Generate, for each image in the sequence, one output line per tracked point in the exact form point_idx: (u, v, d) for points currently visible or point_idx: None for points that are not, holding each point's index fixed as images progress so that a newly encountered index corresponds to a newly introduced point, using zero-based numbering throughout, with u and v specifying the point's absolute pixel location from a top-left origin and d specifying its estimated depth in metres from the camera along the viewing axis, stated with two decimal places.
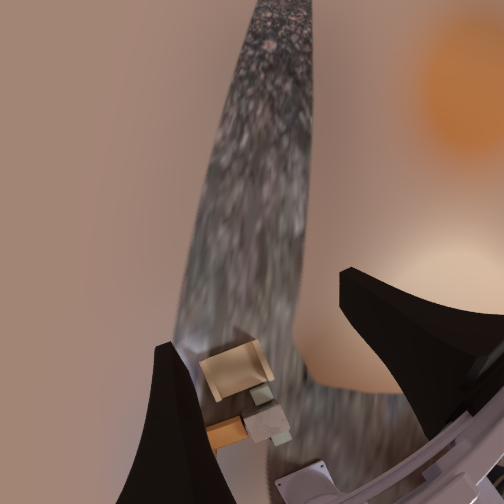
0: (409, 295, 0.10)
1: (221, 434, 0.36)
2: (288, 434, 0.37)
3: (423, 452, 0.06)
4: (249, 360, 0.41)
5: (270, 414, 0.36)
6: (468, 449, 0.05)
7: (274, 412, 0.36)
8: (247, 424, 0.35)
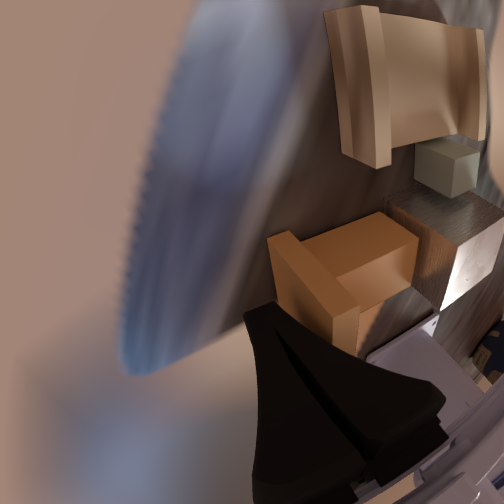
0: (322, 342, 0.09)
1: (363, 283, 0.12)
2: None
3: None
4: (445, 67, 0.11)
5: (492, 235, 0.12)
6: (468, 449, 0.05)
7: (497, 231, 0.12)
8: (456, 261, 0.11)
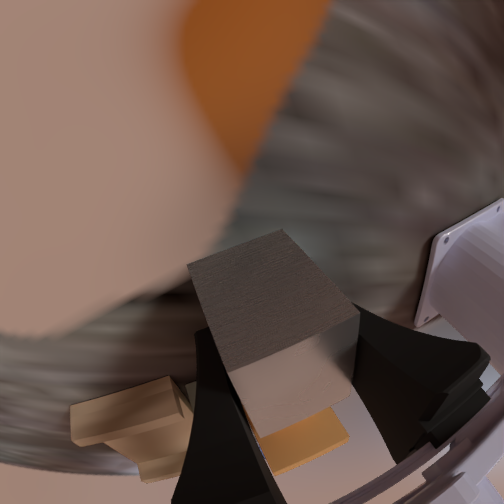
0: (373, 316, 0.09)
1: None
2: None
3: (423, 452, 0.06)
4: None
5: (266, 390, 0.08)
6: (468, 449, 0.05)
7: (261, 381, 0.08)
8: (281, 427, 0.10)
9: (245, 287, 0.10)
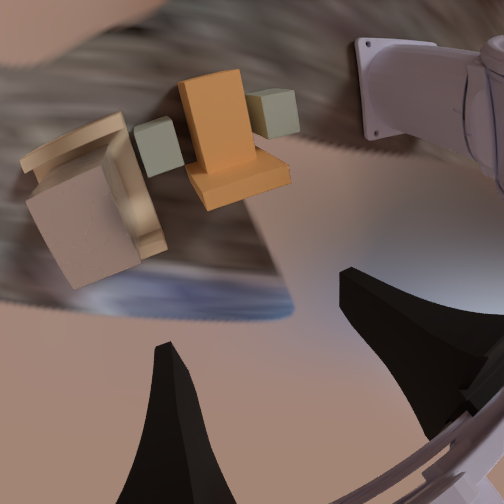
0: (409, 295, 0.10)
1: (217, 134, 0.15)
2: (278, 96, 0.15)
3: (423, 452, 0.06)
4: None
5: (53, 225, 0.11)
6: (468, 449, 0.05)
7: (47, 215, 0.11)
8: (86, 280, 0.13)
9: (64, 169, 0.13)
